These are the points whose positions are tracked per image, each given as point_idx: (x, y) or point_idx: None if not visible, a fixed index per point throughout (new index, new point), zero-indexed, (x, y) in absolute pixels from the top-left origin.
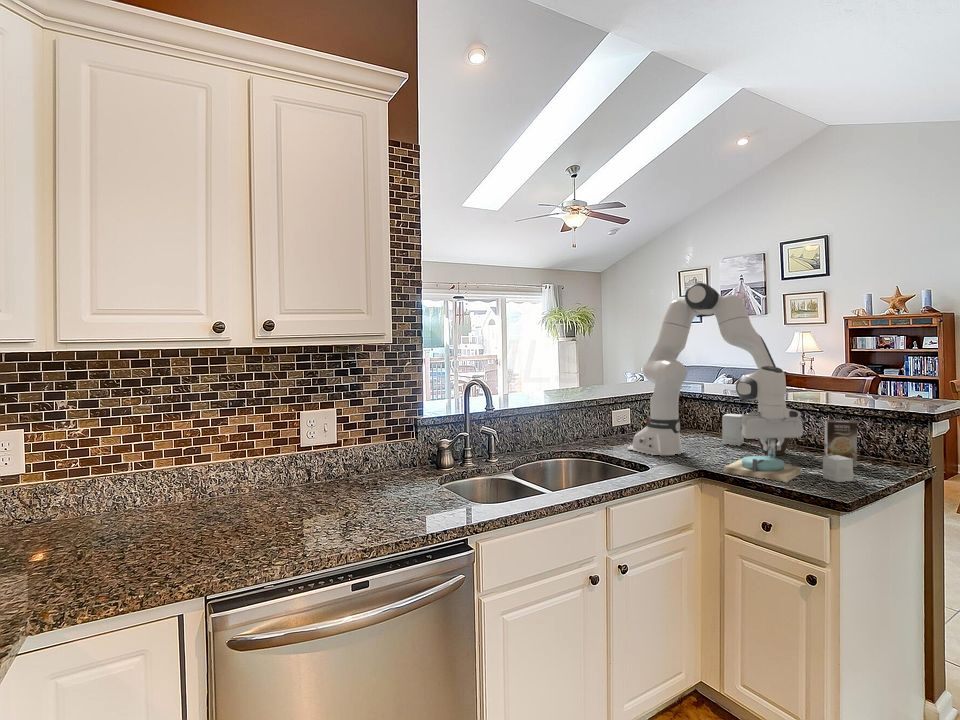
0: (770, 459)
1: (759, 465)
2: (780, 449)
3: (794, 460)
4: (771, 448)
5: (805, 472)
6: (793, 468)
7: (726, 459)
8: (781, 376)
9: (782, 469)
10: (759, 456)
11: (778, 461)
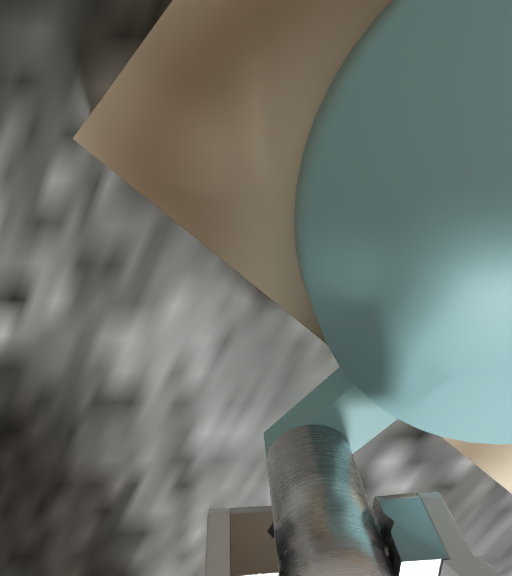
0: (447, 275)
1: None
2: (213, 515)
3: (3, 554)
4: (358, 522)
5: (28, 171)
6: (192, 94)
7: None
8: None
9: None
10: (473, 426)
11: (413, 140)
